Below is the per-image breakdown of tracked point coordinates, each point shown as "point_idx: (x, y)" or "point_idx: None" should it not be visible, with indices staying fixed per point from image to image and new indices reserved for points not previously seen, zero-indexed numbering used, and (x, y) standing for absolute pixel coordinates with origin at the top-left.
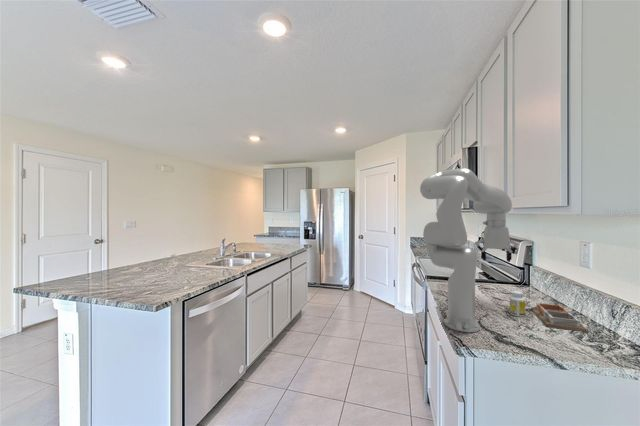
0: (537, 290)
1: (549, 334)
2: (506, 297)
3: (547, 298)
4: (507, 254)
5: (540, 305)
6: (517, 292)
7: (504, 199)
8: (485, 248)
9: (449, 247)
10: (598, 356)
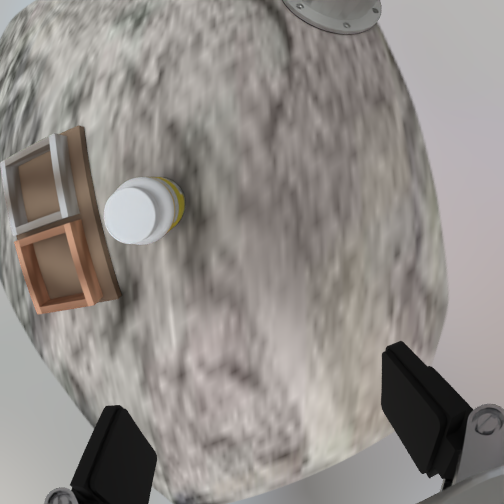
0: None
1: (87, 66)
2: (213, 402)
3: None
4: (120, 491)
5: (79, 275)
6: (127, 209)
7: None
8: (480, 470)
9: None
10: (36, 20)
